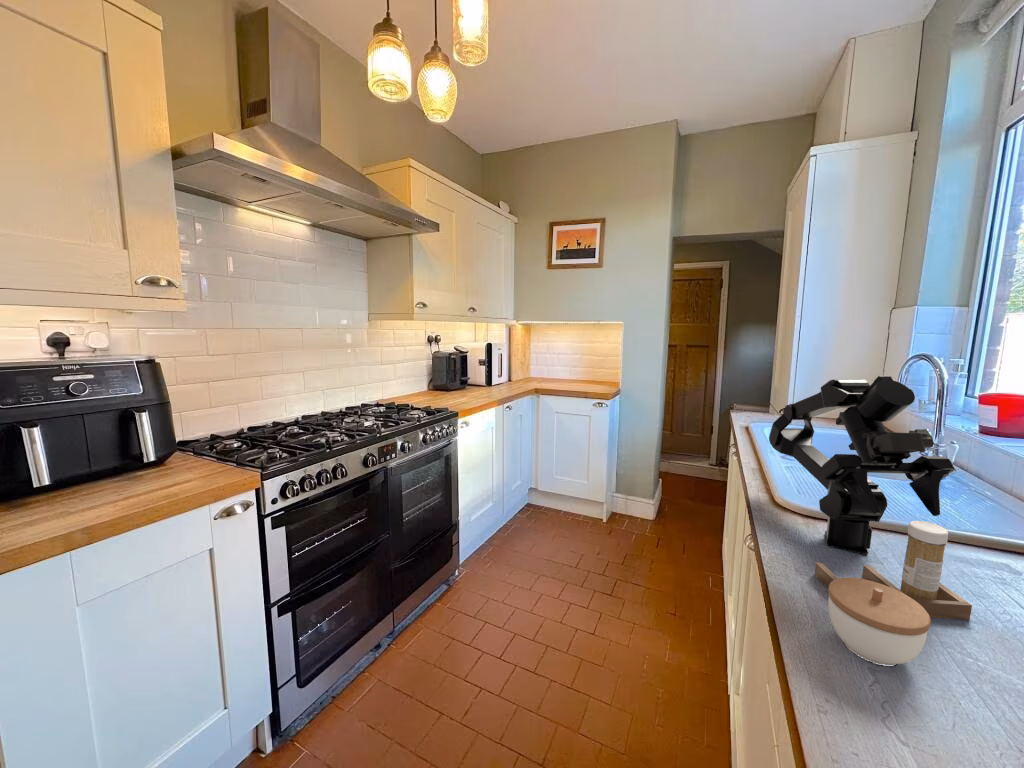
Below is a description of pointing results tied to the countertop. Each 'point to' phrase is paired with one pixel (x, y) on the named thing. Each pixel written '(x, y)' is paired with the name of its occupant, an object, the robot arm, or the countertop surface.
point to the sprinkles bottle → (923, 560)
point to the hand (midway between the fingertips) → (906, 514)
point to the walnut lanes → (939, 608)
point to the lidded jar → (877, 620)
